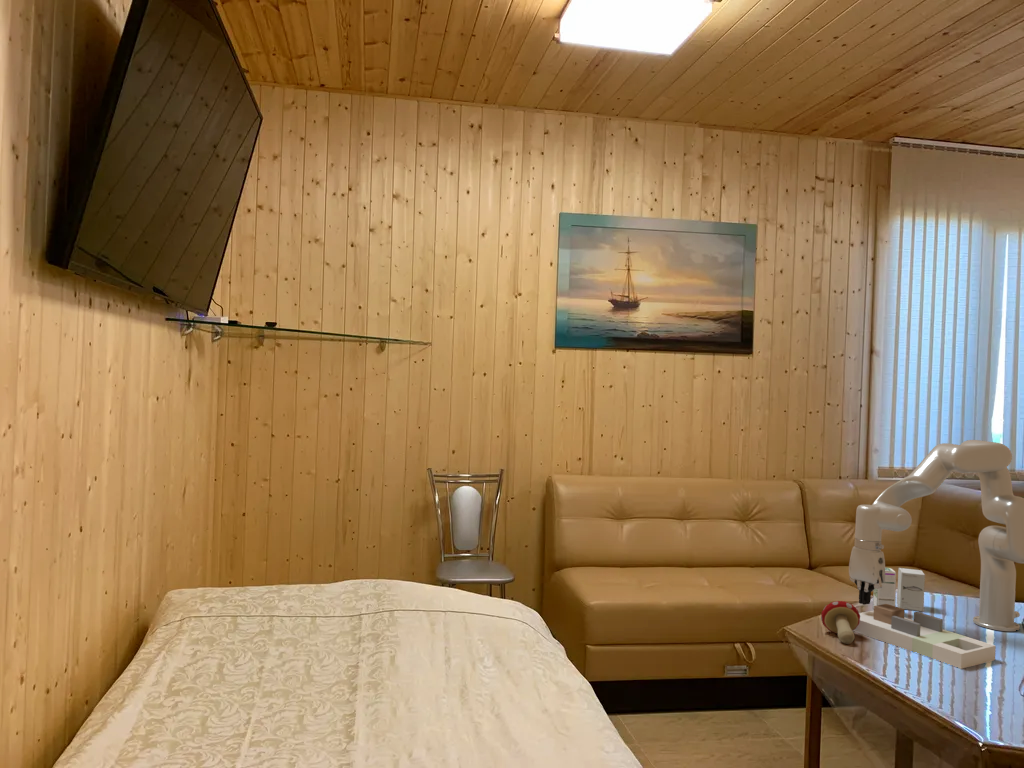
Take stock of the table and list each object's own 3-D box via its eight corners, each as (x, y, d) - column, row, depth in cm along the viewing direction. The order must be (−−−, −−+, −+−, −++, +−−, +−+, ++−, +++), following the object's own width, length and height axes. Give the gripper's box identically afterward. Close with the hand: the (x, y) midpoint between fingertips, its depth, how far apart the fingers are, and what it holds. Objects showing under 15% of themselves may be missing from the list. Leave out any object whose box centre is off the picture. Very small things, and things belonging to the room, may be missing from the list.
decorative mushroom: (856, 619, 220) (845, 587, 233) (820, 634, 224) (811, 602, 237) (875, 647, 222) (864, 615, 235) (839, 662, 226) (829, 628, 239)
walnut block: (886, 616, 238) (886, 603, 238) (904, 622, 233) (904, 609, 233) (873, 619, 235) (873, 606, 235) (891, 624, 230) (891, 611, 230)
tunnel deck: (878, 621, 246) (879, 598, 246) (995, 660, 215) (996, 633, 215) (845, 628, 238) (846, 604, 238) (960, 668, 207) (962, 641, 207)
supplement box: (899, 609, 261) (900, 571, 261) (896, 603, 268) (898, 567, 268) (923, 612, 259) (925, 574, 259) (920, 606, 266) (921, 569, 266)
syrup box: (895, 615, 253) (897, 571, 253) (876, 614, 254) (878, 570, 254) (890, 610, 259) (892, 567, 259) (871, 609, 260) (873, 566, 260)
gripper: (897, 549, 236) (893, 609, 236) (854, 539, 249) (851, 595, 250) (881, 551, 233) (878, 611, 233) (839, 540, 246) (836, 598, 246)
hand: (864, 603), depth 241 cm, fingers closed
